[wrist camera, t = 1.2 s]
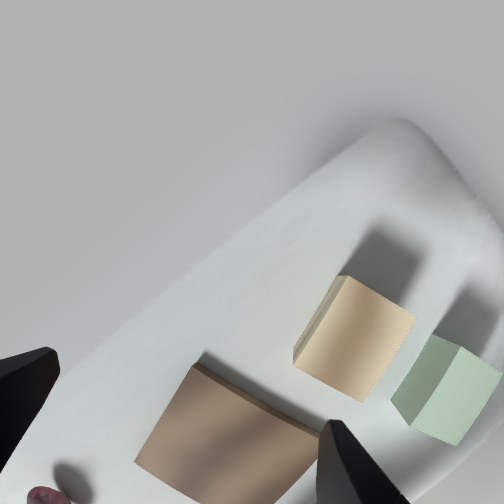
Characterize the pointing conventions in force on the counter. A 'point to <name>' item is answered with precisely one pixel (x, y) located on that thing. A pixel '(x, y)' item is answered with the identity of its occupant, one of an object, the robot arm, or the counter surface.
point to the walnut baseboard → (226, 444)
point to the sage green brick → (445, 390)
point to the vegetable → (46, 496)
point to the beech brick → (352, 338)
